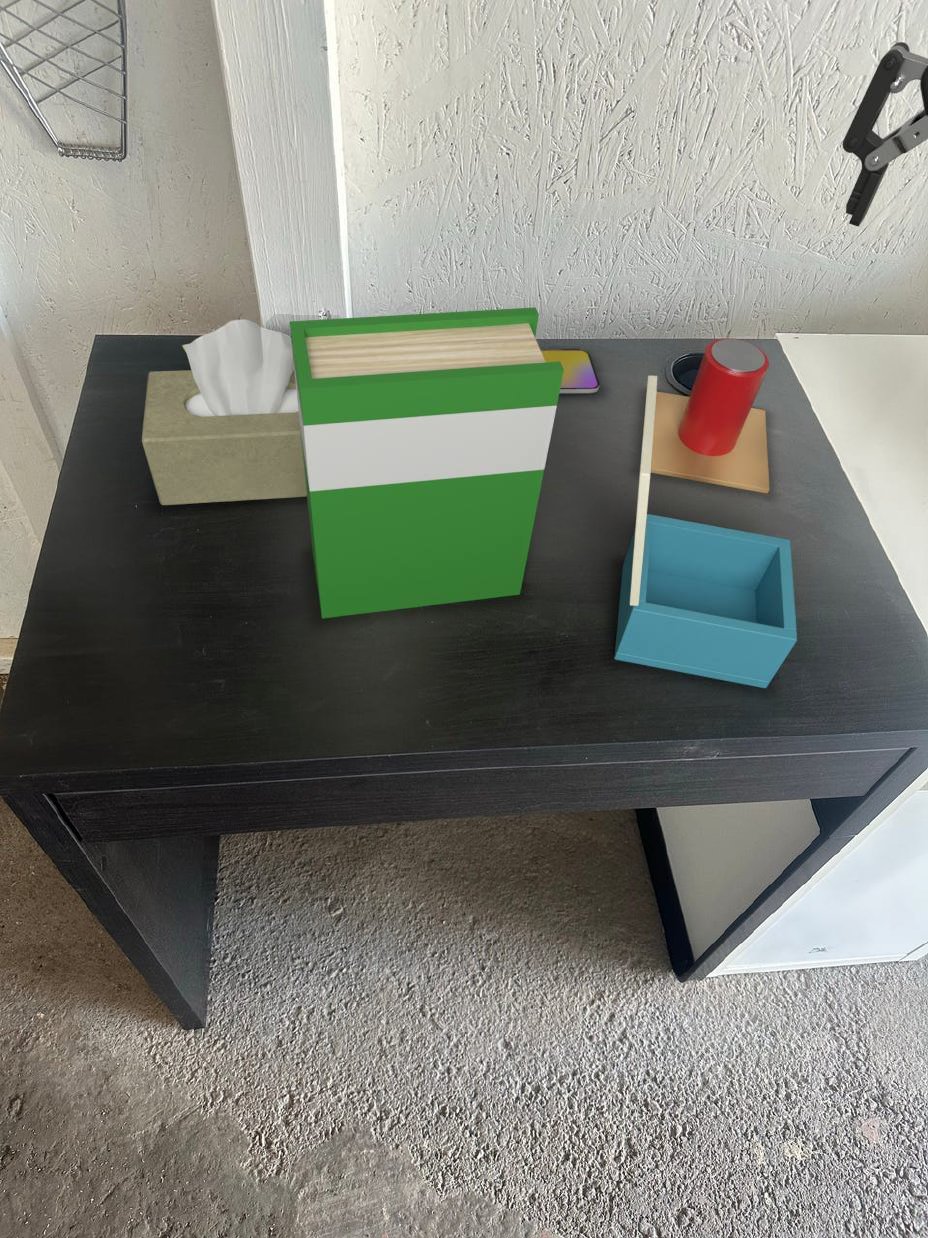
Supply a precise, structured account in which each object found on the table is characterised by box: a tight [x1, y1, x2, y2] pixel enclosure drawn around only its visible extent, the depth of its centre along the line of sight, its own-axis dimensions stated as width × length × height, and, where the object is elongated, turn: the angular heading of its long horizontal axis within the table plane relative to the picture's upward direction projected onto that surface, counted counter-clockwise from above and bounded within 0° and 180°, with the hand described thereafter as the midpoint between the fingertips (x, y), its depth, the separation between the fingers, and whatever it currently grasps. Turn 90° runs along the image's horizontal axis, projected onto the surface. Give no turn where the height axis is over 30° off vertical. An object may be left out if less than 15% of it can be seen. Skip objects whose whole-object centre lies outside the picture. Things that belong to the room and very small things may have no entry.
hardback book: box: [289, 307, 564, 619], centre depth 68 cm, size 18×7×24 cm, turn 102°
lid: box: [630, 375, 658, 606], centre depth 65 cm, size 14×11×1 cm
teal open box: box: [613, 513, 798, 689], centre depth 73 cm, size 13×11×7 cm
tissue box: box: [141, 319, 307, 506], centre depth 78 cm, size 19×10×16 cm, turn 99°
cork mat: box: [651, 391, 770, 494], centre depth 91 cm, size 13×13×1 cm
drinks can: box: [678, 337, 770, 456], centre depth 87 cm, size 6×6×10 cm
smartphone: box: [540, 348, 601, 394], centre depth 96 cm, size 7×1×15 cm
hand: (916, 241), depth 60 cm, fingers open, 8 cm apart
